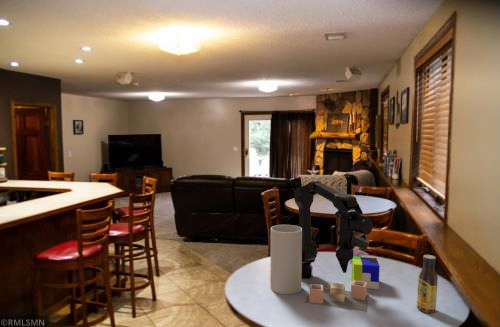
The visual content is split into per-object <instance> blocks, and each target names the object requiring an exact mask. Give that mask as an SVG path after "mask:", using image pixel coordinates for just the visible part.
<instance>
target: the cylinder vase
mask: <svg viewBox="0 0 500 327" xmlns="http://www.w3.org/2000/svg"><path fill="white" fill-rule="evenodd" d="M301 273H302V228H301V227H300V226H299V225H294V224H293V225H292V224H277V225H273V226H271V227H270V278H269V279H270V282H269V283H270V286H269V287H270V289H271V291H272V292H274V293H276V294H280V295H294V294H298V293H300V292H301V290H302V278H301Z"/></svg>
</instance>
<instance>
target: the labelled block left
mask: <svg viewBox="0 0 500 327" xmlns="http://www.w3.org/2000/svg"><path fill="white" fill-rule="evenodd" d="M323 288H324V285H323V284H311V283H310V284H309V290H308V291H309V292H308V295H309V303H308V304H310V303H323Z"/></svg>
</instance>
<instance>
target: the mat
mask: <svg viewBox="0 0 500 327" xmlns="http://www.w3.org/2000/svg"><path fill="white" fill-rule="evenodd" d="M369 296H370V295H369V293H367V296H366V298H365V300H362V299H357V298H352V297H351V290H345V299H344V302H338V301H331V300H330V288H329V287H323V303H309V294H308V295H307V297H306V300H305V301H304V303H305V304H312V305H318V306H325V307H331V308H337V309H342V310H343V309H344V310H351V311H356V312H363V313H364V312H365V313H368V303H369Z"/></svg>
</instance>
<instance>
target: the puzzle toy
mask: <svg viewBox="0 0 500 327" xmlns="http://www.w3.org/2000/svg"><path fill="white" fill-rule="evenodd" d="M380 268H381V267H380V264H379V261H378V258H376V257H367V256H366V257H365V256H361V257H353V259H352V261H351V280H352V281H351V282H352V283H353V281H354V280H356V281H361V282H367V289H372V290H374V289H375V290H379V289H380Z"/></svg>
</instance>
